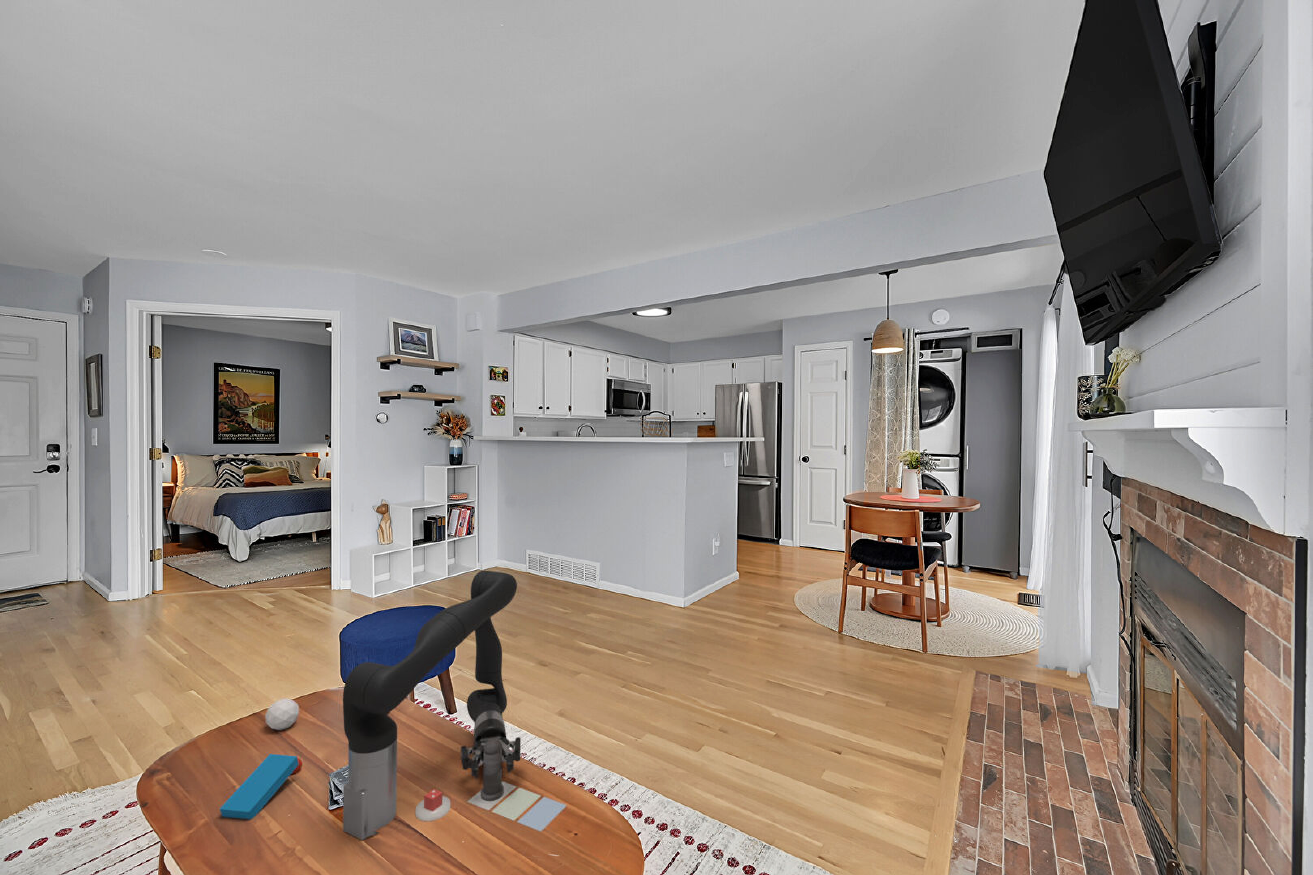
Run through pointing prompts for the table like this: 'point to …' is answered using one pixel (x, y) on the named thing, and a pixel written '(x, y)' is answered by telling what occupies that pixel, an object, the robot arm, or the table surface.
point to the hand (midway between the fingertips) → (493, 771)
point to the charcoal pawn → (492, 771)
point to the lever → (260, 786)
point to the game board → (522, 807)
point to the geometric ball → (282, 714)
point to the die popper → (433, 806)
